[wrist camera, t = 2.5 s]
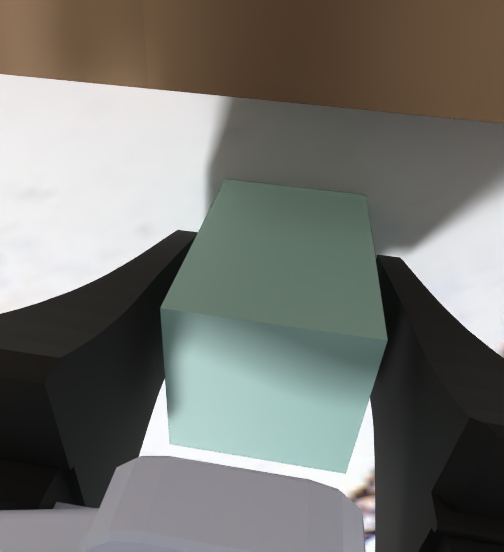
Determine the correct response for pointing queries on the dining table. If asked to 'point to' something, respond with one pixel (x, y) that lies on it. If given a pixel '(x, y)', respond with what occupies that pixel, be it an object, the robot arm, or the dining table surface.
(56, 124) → the dining table surface
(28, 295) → the dining table surface
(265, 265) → the teal block
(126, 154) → the dining table surface
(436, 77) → the well board
